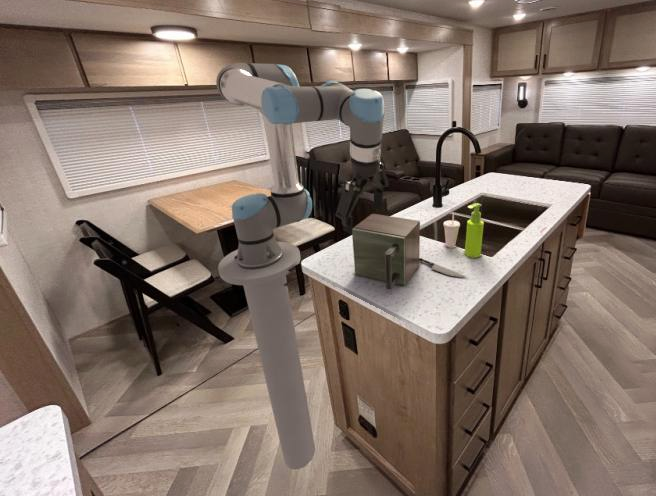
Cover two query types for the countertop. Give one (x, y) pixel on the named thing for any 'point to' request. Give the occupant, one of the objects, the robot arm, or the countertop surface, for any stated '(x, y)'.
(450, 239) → the smoothie
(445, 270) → the chef's knife
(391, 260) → the cupboard door
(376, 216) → the cupboard
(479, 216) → the soap dispenser
